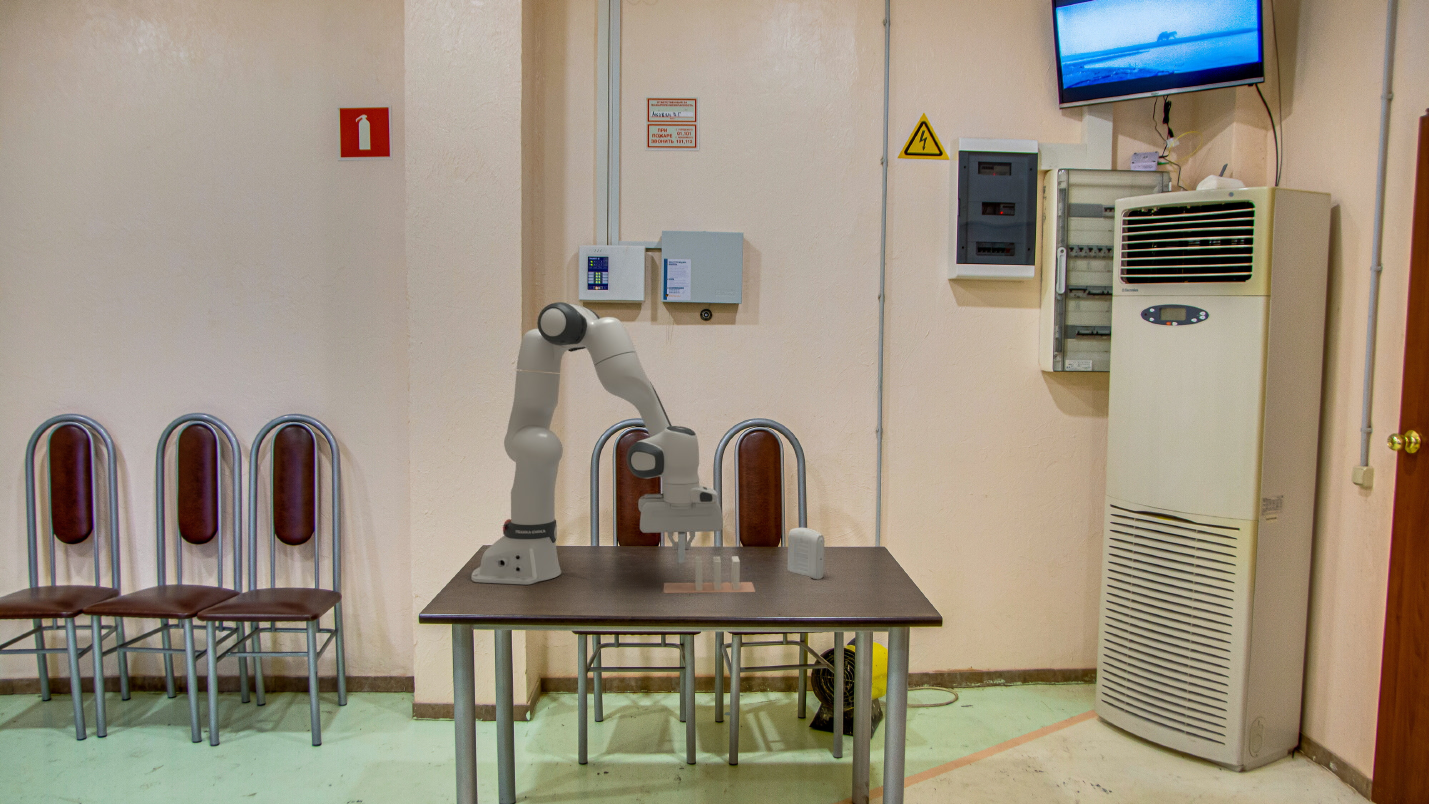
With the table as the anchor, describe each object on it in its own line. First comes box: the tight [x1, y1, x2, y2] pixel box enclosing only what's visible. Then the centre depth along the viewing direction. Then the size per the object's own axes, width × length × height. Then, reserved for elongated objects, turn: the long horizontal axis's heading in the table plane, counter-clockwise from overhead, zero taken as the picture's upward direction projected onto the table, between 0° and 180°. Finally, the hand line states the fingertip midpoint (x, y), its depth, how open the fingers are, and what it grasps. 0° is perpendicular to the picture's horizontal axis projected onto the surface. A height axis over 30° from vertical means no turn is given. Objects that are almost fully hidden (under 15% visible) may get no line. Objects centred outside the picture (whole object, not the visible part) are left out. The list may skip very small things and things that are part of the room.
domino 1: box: [677, 532, 686, 564], centre depth 191 cm, size 2×5×7 cm, turn 4°
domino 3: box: [712, 556, 722, 590], centre depth 192 cm, size 2×5×7 cm, turn 4°
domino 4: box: [730, 555, 741, 590], centre depth 192 cm, size 2×5×7 cm, turn 3°
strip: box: [663, 581, 756, 594], centre depth 192 cm, size 22×8×1 cm, turn 93°
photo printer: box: [787, 527, 826, 580], centre depth 205 cm, size 10×4×12 cm, turn 47°
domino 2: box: [694, 556, 704, 591], centre depth 191 cm, size 2×5×7 cm, turn 4°
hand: (681, 549), depth 191 cm, fingers closed on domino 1, 2 cm apart
